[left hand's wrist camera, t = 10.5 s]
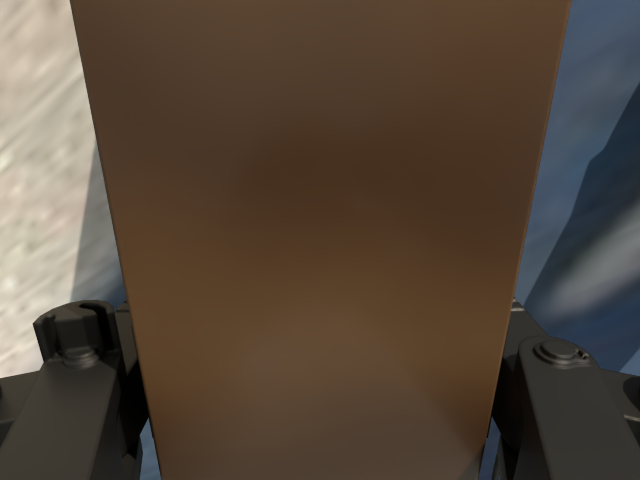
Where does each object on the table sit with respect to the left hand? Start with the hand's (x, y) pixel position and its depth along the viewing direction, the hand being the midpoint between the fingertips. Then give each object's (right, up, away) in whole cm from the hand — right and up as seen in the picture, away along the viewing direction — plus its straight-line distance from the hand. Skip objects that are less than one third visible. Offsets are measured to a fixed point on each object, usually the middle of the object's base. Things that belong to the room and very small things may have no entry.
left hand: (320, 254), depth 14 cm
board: (0, -20, +8) cm, 21 cm away
